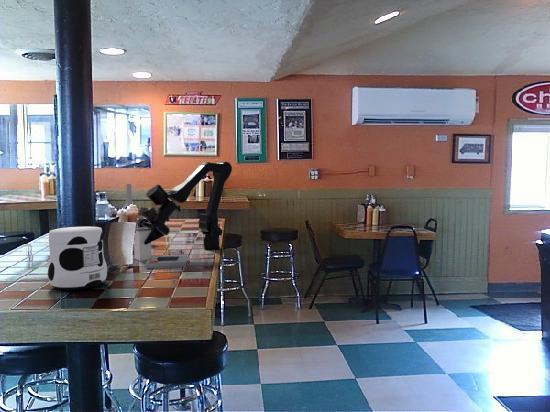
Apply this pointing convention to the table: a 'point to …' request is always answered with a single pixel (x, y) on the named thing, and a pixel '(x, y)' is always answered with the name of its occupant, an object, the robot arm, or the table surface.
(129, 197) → the bottle
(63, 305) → the table surface
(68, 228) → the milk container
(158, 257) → the socket plate
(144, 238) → the plug
